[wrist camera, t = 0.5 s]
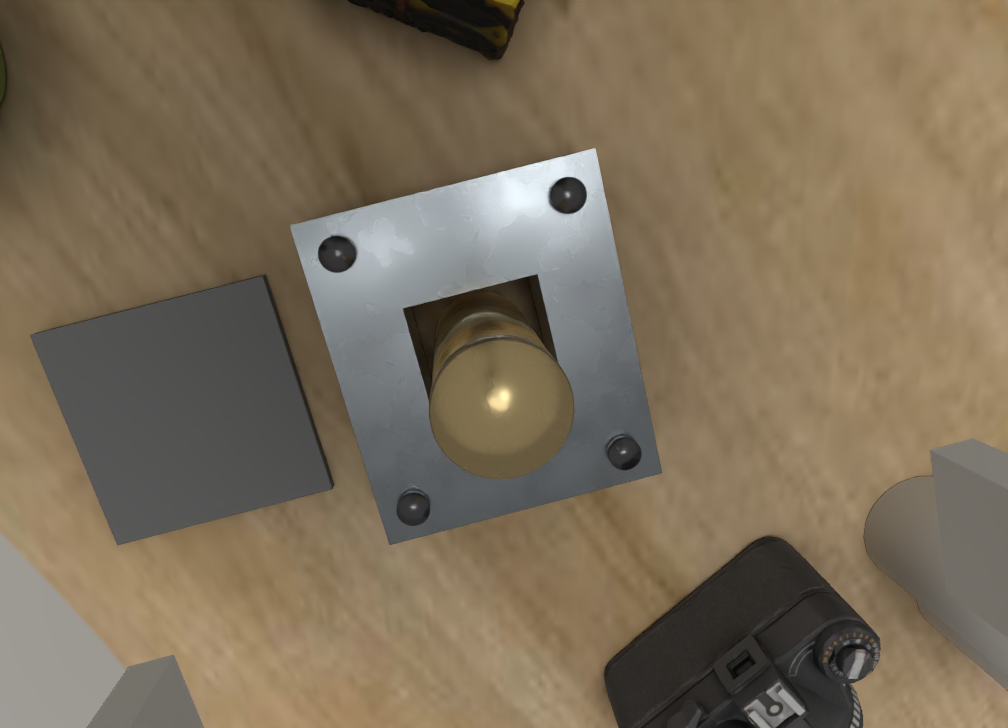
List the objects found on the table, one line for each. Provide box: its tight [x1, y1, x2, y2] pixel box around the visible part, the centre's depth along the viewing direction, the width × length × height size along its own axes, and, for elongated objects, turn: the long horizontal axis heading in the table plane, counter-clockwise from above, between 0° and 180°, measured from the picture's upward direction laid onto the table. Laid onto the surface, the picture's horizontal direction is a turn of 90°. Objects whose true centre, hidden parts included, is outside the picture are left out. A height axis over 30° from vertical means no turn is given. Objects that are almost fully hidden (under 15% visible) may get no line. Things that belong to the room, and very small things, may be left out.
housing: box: [290, 148, 662, 545], centre depth 36 cm, size 16×14×6 cm
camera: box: [604, 537, 881, 728], centre depth 39 cm, size 14×11×10 cm
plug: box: [429, 291, 574, 479], centre depth 32 cm, size 5×5×14 cm
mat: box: [30, 275, 334, 545], centre depth 38 cm, size 12×12×1 cm
